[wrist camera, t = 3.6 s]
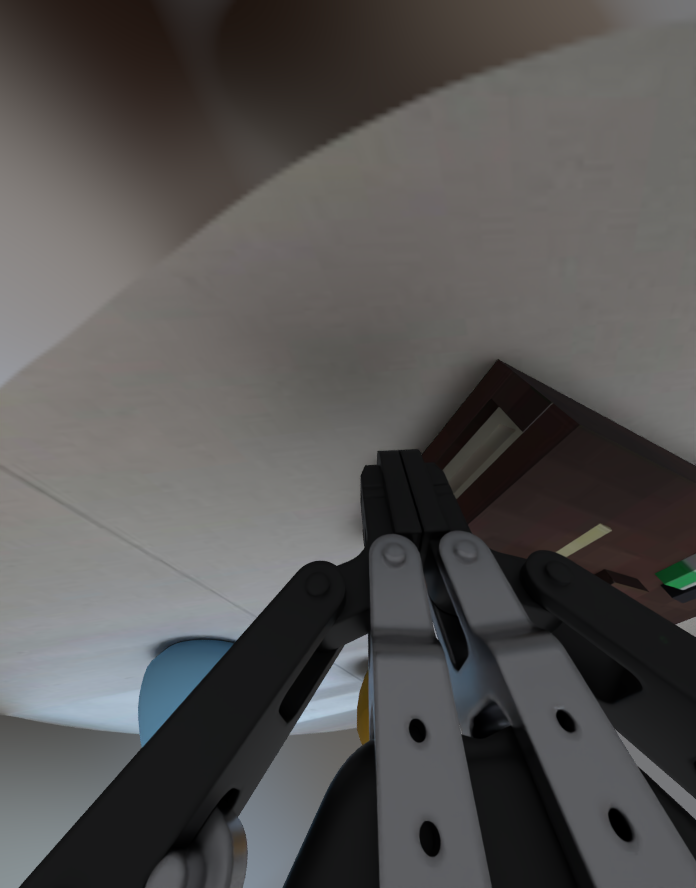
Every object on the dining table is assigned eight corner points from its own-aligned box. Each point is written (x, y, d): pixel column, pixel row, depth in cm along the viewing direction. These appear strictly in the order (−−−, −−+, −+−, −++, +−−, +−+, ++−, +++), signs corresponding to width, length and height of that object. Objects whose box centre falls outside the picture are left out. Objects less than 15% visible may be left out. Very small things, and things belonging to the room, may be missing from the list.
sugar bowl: (232, 628, 36) (198, 764, 27) (279, 664, 45) (266, 776, 36) (130, 645, 38) (65, 778, 29) (194, 677, 47) (160, 786, 38)
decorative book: (581, 383, 9) (906, 569, 18) (480, 320, 15) (760, 482, 24) (331, 627, 19) (615, 668, 28) (332, 531, 25) (565, 589, 34)
